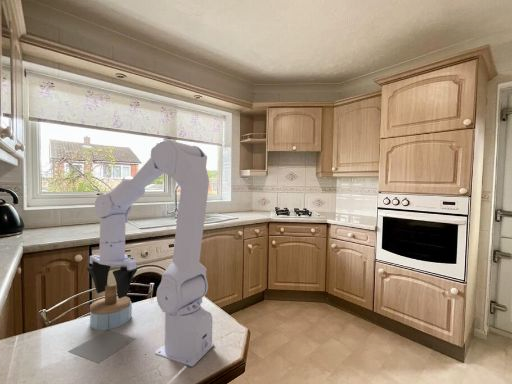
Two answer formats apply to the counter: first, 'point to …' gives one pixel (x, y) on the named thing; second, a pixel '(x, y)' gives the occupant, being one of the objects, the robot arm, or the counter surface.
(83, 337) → the counter surface
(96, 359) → the mat
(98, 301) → the lid
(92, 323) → the bowl
